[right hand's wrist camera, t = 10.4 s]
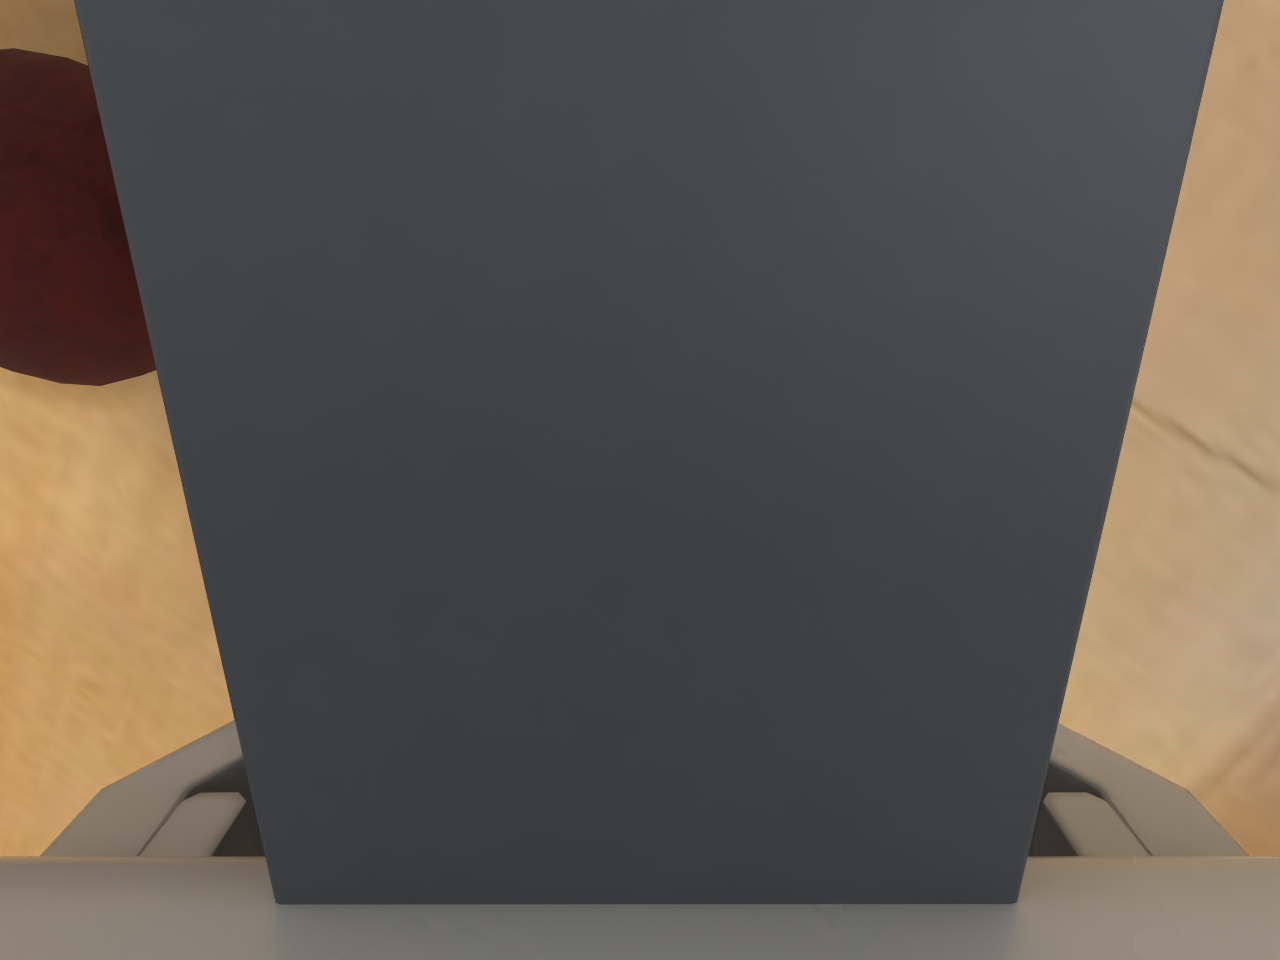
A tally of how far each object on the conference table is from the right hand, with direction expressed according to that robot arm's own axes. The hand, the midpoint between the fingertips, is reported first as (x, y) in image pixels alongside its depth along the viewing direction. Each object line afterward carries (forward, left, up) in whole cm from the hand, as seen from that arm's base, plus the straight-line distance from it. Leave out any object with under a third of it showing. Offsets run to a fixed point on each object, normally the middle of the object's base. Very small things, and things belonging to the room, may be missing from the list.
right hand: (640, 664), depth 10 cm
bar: (+10, 0, -3) cm, 11 cm away
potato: (+5, +14, -14) cm, 20 cm away
